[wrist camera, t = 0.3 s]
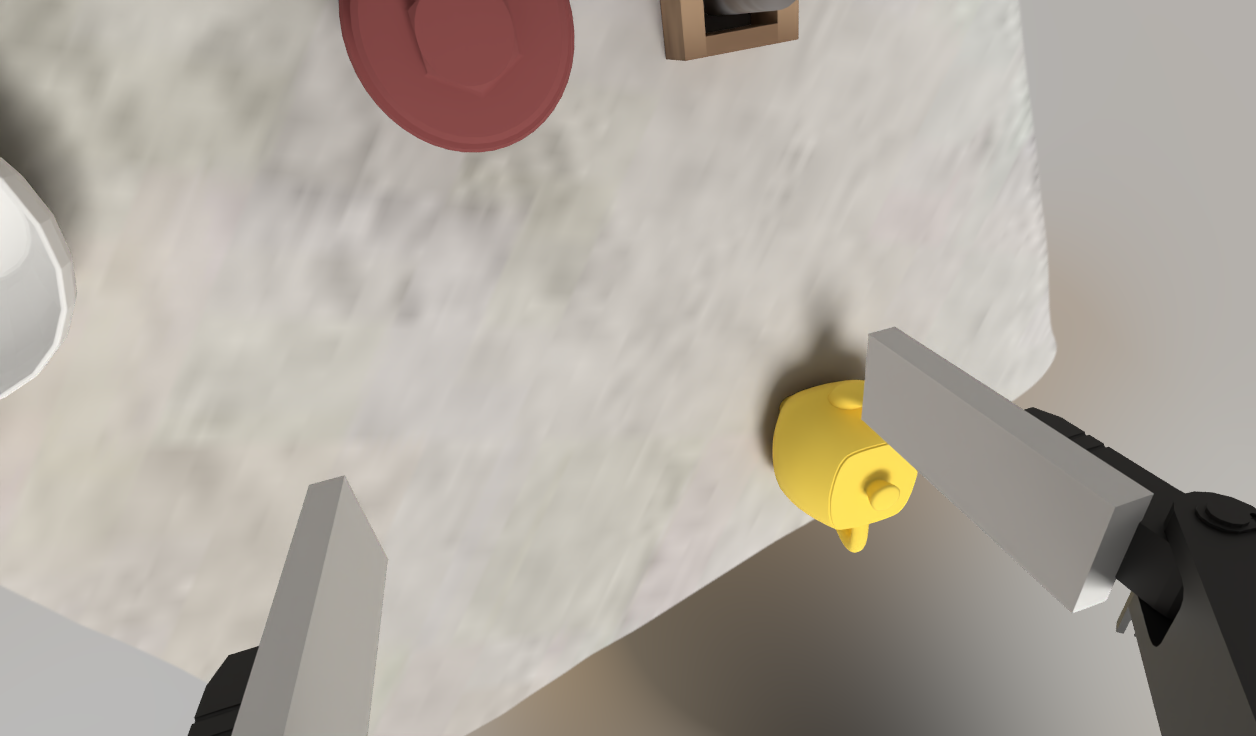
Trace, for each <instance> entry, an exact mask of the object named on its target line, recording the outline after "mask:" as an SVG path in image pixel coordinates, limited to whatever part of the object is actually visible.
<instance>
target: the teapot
mask: <svg viewBox="0 0 1256 736" xmlns="http://www.w3.org/2000/svg"><path fill="white" fill-rule="evenodd" d="M864 382H865V380H844V381H838V382H832V383H827V384H823V385H819V386H815V387H812V388H809V389H805V390H803V391H800V392H798V393H796V394H794V395H792V396H789V397H787V398H785V399H784V400H783V401H782V402H781V404H780V407H779V411H780V414H779V417H778V420H777V423H776V427H775V431H774V437H773V466H774V472H775V476H776V479H777V482H778V484H779V486H780V488H781V490H782V491H783V492H784V494H785V495H786V496H787V497H788V498H789V499H790V500H791V501H792V502H793V503H794V504H795V505H796V506H797V507H798V508H800V509H801V510H802V511H804V512H805V513H806V514H808V515H810V516H811V517H813V518H814V519H816V520H818V521H820V522H822V523H824V524H826V525H828V526H830V527H832V528H835V529H836V531H837V533H838V535H839V537H840V539H841V541H842V542H843V544H844V546H845V547H846V548H847V549H848V550H849V551H851V552H858V551H861V550H862V549H863V547H864V546H865V544H866V541H867V535H868V527H869V524H870V523H874V522H877V521H880V520H883V519H886V518H888V517H890V516H893V515H895V514H897V513H898V512H899V511H901V509H902V508H903V507H904V506H905V504H906V502H907V501H908V499H909V496H910V494H911V492H912V489H913V486H914V483H915V480H916V476H917V470H916V469H915V468H914V467H913V466H912V465H910V464H909V463H908V462H907V461H906V460H905V459H904V458H903V457H902V456H901V455H900V454H899V453H897V452H896V451H895V450H894V449H893V448H892V447H891V446H890V445H889V444H888V443H887V442H886V441H884V440H883V439H882V438H881V437H880V436H879V435H878V434H877V433H876V432H875V431H874V430H872V429H871V428H870V427H869V426H868V425H867V424H866V423H865V422H864V421H863V420H862V419H861V417H862V406H863V394H864Z"/></svg>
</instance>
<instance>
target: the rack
mask: <svg viewBox="0 0 1256 736" xmlns="http://www.w3.org/2000/svg"><path fill="white" fill-rule="evenodd" d="M660 4H661V14H662V24H663V34H664V43H665V53H666V59H670V60H682V61H687V60H692V59H698V58H703V57H708V56H713V55H718V54H724V53H729V52H734V51H739V50H744V49H750V48H755V47H760V46H765V45H771V44H776V43H781V42H786V41H791V40H797V39H798V13H799V0H660ZM704 13H705V14H707V15H710V16H720V15H731V14H742V13H751V25H746V26H741V27H736V28H730V29H725V30H719V31H714V32H709V33H705V20H704Z"/></svg>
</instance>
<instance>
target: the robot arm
mask: <svg viewBox="0 0 1256 736" xmlns="http://www.w3.org/2000/svg"><path fill="white" fill-rule="evenodd" d="M861 419H862V420H863V421H864V422H865V423H866V424H867V425H868V426H869V427H870V428H871V429H872V430H874V431H875V432H876V433H877V434H878V435H879V436H880V437H881V438H882V439H883V440H884V441H886V442H887V443H888V444H889V445H890V446H891V447H892V448H893V449H894V450H895V451H896V452H897V453H899V454H900V455H901V456H902V457H903V458H904V459H905V460H906V461H907V462H908V463H909V464H910V465H912V466H913V467H914V468H915V469H916V470H917V471H918V472H919V473H920V474H922V475H923V476H924V477H925V478H926V479H927V480H928V481H929V482H930V483H931V484H932V485H934V487H936V488H937V489H938V490H939V491H940V492H941V493H942V494H943V495H944V496H945V497H946V498H948V500H950V501H951V502H952V503H953V504H954V505H955V506H956V507H957V508H958V509H959V510H961V511H962V512H963V513H964V514H965V515H966V516H967V517H968V518H969V519H970V520H971V521H972V522H973V523H975V524H976V525H977V526H978V527H979V528H980V529H981V530H982V531H983V532H985V534H987V535H988V536H989V537H990V538H991V539H992V540H993V541H994V542H995V543H996V544H997V545H999V546H1000V547H1001V548H1002V549H1003V550H1004V551H1005V552H1006V553H1007V554H1008V555H1009V556H1011V557H1012V558H1013V559H1014V560H1015V561H1016V562H1017V563H1018V564H1019V565H1020V566H1021V567H1022V568H1023V569H1025V570H1026V571H1027V572H1028V573H1029V574H1030V575H1031V576H1032V577H1033V578H1034V579H1036V581H1038V582H1039V583H1040V584H1041V585H1042V586H1043V587H1044V588H1045V589H1046V590H1047V591H1049V592H1050V593H1051V594H1052V595H1053V596H1054V597H1055V598H1056V599H1057V600H1058V601H1059V602H1061V603H1062V604H1063V605H1064V606H1065V607H1066V608H1067V609H1068V610H1069V611H1070V612H1072V613H1074V612H1077V611H1080V610H1083V609H1085V608H1088V607H1091V606H1093V605H1096V604H1099V603H1101V602H1104V601H1106V600H1107V598H1108V596H1109V593H1110V591H1111V589H1112V587H1113V584H1114V582H1115V580H1116V579H1117V580H1119V581H1120V582H1121V583H1122V584H1124V585H1125V586H1126V587H1127V588H1128V589H1130V590H1131V593H1130V595H1129V597H1128V599H1127V602H1126V604H1125V606H1124V608H1123V610H1122V612H1121V615H1120V616H1119V618H1118V621H1117V626H1116V632H1119V633H1124V631H1125V630H1126V628H1127V626H1128V623H1129V622H1130V620H1132V622H1133V626H1134V630H1135V634H1134V636H1135V637H1136V638H1137V642H1138V646H1139V649H1140V653H1141V657H1142V661H1143V665H1144V669H1145V673H1146V677H1147V680H1148V684H1149V688H1150V692H1151V696H1152V700H1153V704H1154V708H1155V711H1156V715H1157V719H1158V723H1159V727H1160V731H1161V735H1162V736H1256V508H1254V507H1253V506H1251V505H1249V504H1246V503H1244V502H1242V501H1239V500H1237V499H1235V498H1232V497H1229V496H1224V495H1220V494H1216V493H1211V492H1190V493H1186V494H1185V493H1183V492H1182V491H1179V490H1178V489H1176V488H1174V487H1173V486H1171V485H1170V484H1168V483H1167V482H1165V481H1163V480H1162V479H1160V478H1158V477H1157V476H1155V475H1154V474H1152V473H1150V472H1149V471H1147V470H1145V469H1144V468H1142V467H1141V466H1139V465H1137V464H1136V463H1134V462H1133V461H1131V460H1129V459H1128V458H1126V457H1124V456H1123V455H1121V454H1120V453H1118V452H1116V451H1115V450H1113V449H1111V448H1110V447H1107V448H1106V447H1105V446H1104V444H1103V443H1102V442H1100V441H1099V440H1097V439H1095V438H1094V437H1092V436H1090V435H1085V432H1084V431H1082V430H1081V429H1079V428H1077V427H1076V426H1074V425H1073V424H1071V423H1069V422H1067V421H1066V420H1065V419H1063V418H1061V417H1059V416H1056V415H1053V414H1050V413H1047V412H1045V411H1042V410H1039V409H1036V408H1034V407H1032V408H1028V409H1025V410H1023V409H1022V408H1020V407H1019V406H1017V405H1015V404H1014V403H1012V402H1011V401H1009V400H1008V399H1006V398H1005V397H1003V396H1002V395H1000V394H998V393H997V392H995V391H994V390H992V389H991V388H989V387H988V386H986V385H984V384H983V383H981V382H980V381H978V380H977V379H975V378H974V377H972V376H970V375H969V374H967V373H966V372H964V371H963V370H961V369H960V368H958V367H957V366H955V365H953V364H952V363H950V362H949V361H947V360H946V359H944V358H943V357H941V356H939V355H938V354H936V353H935V352H933V351H932V350H930V349H929V348H927V347H926V346H924V345H922V344H921V343H919V342H918V341H916V340H915V339H913V338H912V337H910V336H908V335H907V334H905V333H904V332H902V331H901V330H899V329H898V328H896V327H892V328H888V329H885V330H881V331H877V332H874V333H870V334H869V335H868V347H867V359H866V370H865V382H864V394H863V406H862V417H861ZM387 562H388V558H387V556H386V554H385V552H384V550H383V548H382V546H381V544H380V542H379V541H378V539H377V537H376V535H375V533H374V531H373V529H372V527H371V525H370V523H369V521H368V519H367V517H366V515H365V514H364V512H363V510H362V508H361V506H360V504H359V502H358V500H357V498H356V496H355V494H354V492H353V490H352V488H351V486H350V485H349V483H348V481H347V479H346V477H345V475H344V476H341V477H337V478H333V479H330V480H326V481H322V482H319V483H315V484H311V485H309V487H308V490H307V494H306V497H305V500H304V503H303V507H302V510H301V513H300V516H299V519H298V523H297V526H296V529H295V532H294V535H293V539H292V542H291V545H290V548H289V552H288V555H287V558H286V561H285V564H284V568H283V571H282V574H281V577H280V580H279V584H278V587H277V590H276V593H275V597H274V600H273V603H272V606H271V609H270V613H269V616H268V619H267V622H266V626H265V629H264V632H263V635H262V638H261V642H260V645H259V646H257V647H254V648H251V649H248V650H244V651H241V652H238V653H235V654H231V655H228V657H227V658H226V660H225V661H224V662H223V664H222V665H221V666H220V668H219V669H218V671H217V672H216V673H215V675H214V676H213V677H212V679H211V680H210V682H209V683H208V684H207V686H206V688H205V691H204V693H203V696H202V699H201V701H200V704H199V707H198V709H197V712H196V715H195V723H194V724H192V726H191V728H190V731H189V734H188V736H368V727H369V718H370V710H371V701H372V692H373V684H374V675H375V666H376V658H377V649H378V640H379V632H380V623H381V614H382V606H383V597H384V588H385V580H386V571H387Z"/></svg>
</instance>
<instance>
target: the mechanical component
mask: <svg viewBox="0 0 1256 736" xmlns="http://www.w3.org/2000/svg"><path fill="white" fill-rule="evenodd" d="M339 17H340V24H341V30H342V36H343V40H344V43H345V47H346V50H347V53H348V56H349V59H350V61H351V63H352V65H353V68H354V70H355V72H356V74H357V76H358V78H359V79H360V81H361V83H362V85H363V86H364V88H365V90H366V91H367V92H368V94H369V95H370V96H371V98H372V99H373V100H374V102H375V103H376V104H377V105H378V106H379V107H380V108H381V109H382V111H383V112H384V113H385V114H386V115H387V116H388V117H389V118H390V119H392V120H393V121H394V122H395V123H397V124H398V125H399V126H400V127H402V128H403V129H404V130H406V131H407V132H409V133H411V134H412V135H414V136H415V137H417V138H419V139H421V140H423V141H425V142H428V143H430V144H432V145H435V146H438V147H441V148H445V149H448V150H454V151H460V152H485V151H493V150H497V149H500V148H504V147H507V146H510V145H512V144H514V143H516V142H518V141H520V140H522V139H523V138H525V137H526V136H528V135H529V134H531V133H532V132H534V131H535V130H536V129H537V128H538V127H539V126H540V125H541V124H542V123H543V122H545V120H546V119H547V118H548V117H549V115H550V114H551V113H552V112H553V110H554V109H555V107H556V105H557V104H558V102H559V100H560V99H561V97H562V95H563V92H564V90H565V87H566V85H567V83H568V79H569V75H570V72H571V68H572V62H573V55H574V25H573V16H572V11H571V7H570V2H569V0H339Z"/></svg>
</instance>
